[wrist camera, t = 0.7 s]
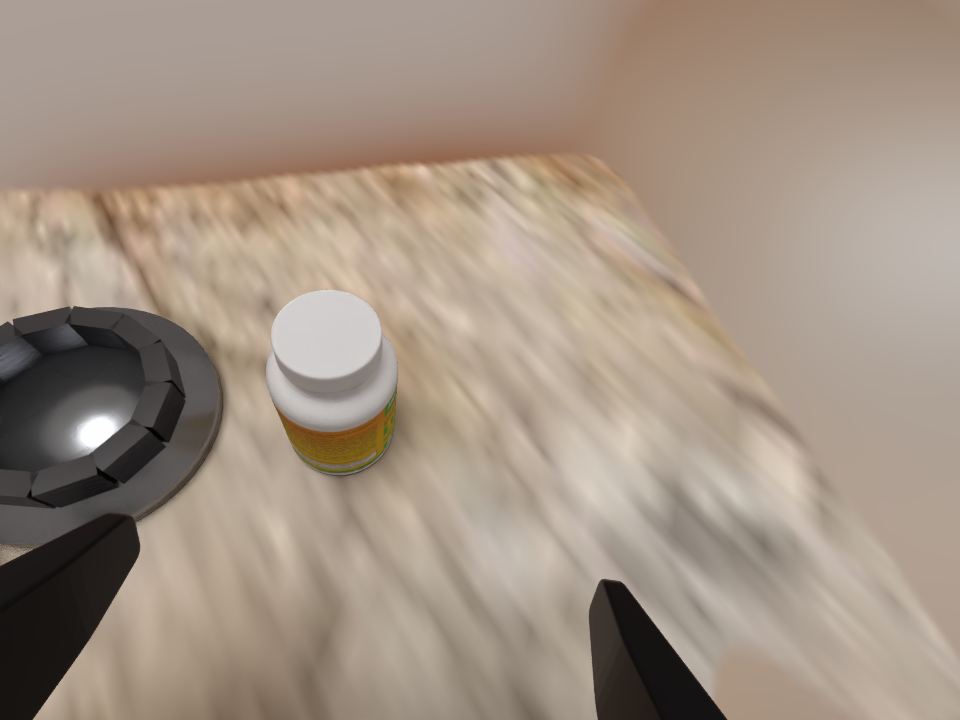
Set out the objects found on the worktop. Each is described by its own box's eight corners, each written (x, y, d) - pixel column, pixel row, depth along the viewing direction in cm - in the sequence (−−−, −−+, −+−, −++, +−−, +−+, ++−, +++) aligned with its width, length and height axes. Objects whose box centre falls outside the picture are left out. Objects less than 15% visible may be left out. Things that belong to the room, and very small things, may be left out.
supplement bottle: (402, 465, 25) (414, 384, 17) (295, 487, 24) (252, 409, 16) (384, 377, 28) (388, 268, 20) (286, 392, 26) (245, 280, 18)
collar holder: (56, 608, 20) (5, 603, 17) (-132, 443, 21) (-206, 415, 19) (273, 400, 26) (261, 372, 23) (114, 284, 28) (85, 246, 25)
